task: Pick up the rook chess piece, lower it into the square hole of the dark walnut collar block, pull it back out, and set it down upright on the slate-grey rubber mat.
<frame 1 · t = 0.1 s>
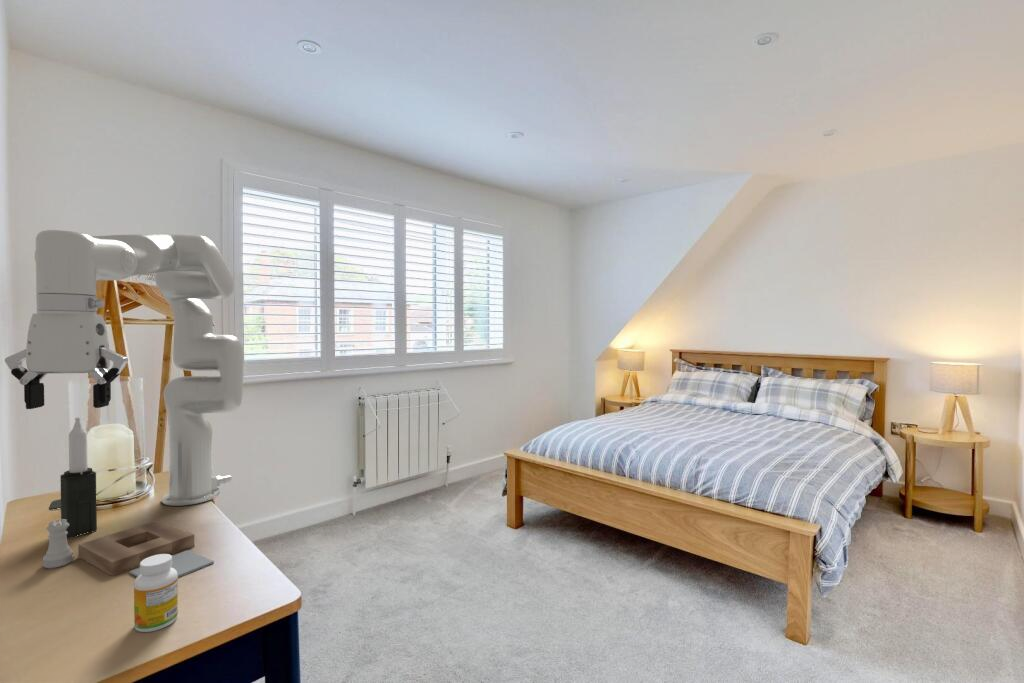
hand: (68, 407, 84), 31 cm above the table, tool pointing down, fingers open, 9 cm apart
phone: (90, 501, 127), on the table
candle: (79, 533, 107), on the table
rubber mat: (172, 568, 92), on the table
rook chess piece: (58, 564, 93), on the table
supplement bottle: (156, 623, 76), on the table
collar block: (138, 551, 99), on the table
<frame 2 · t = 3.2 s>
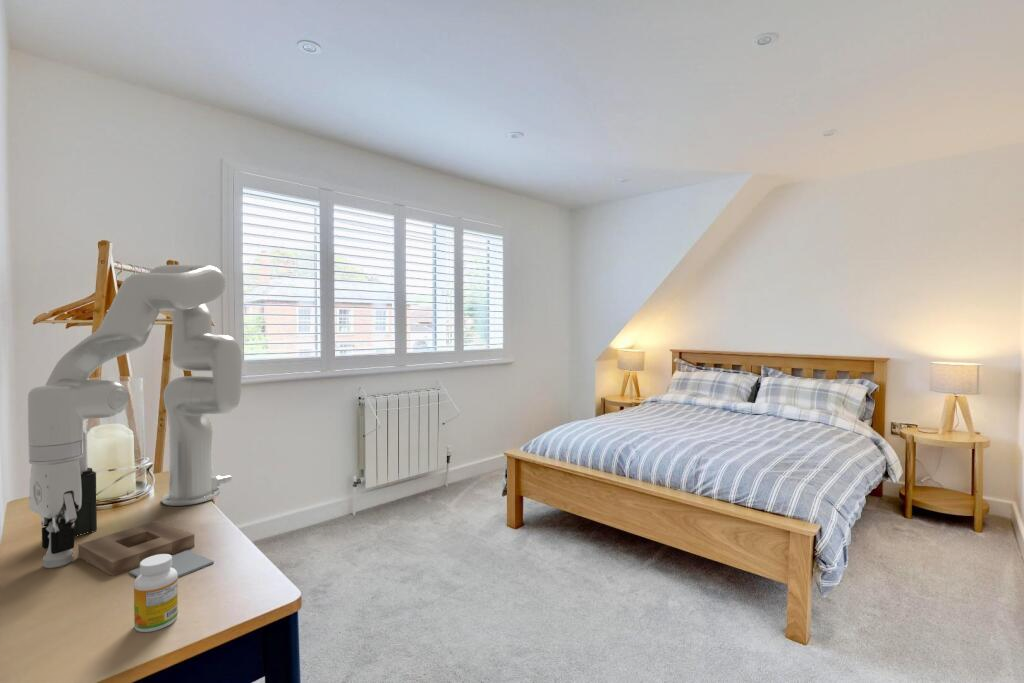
hand: (58, 547, 93), 3 cm above the table, tool pointing down, fingers closed on rook chess piece, 3 cm apart
rook chess piece: (58, 564, 93), on the table, touching gripper
everything else where it was.
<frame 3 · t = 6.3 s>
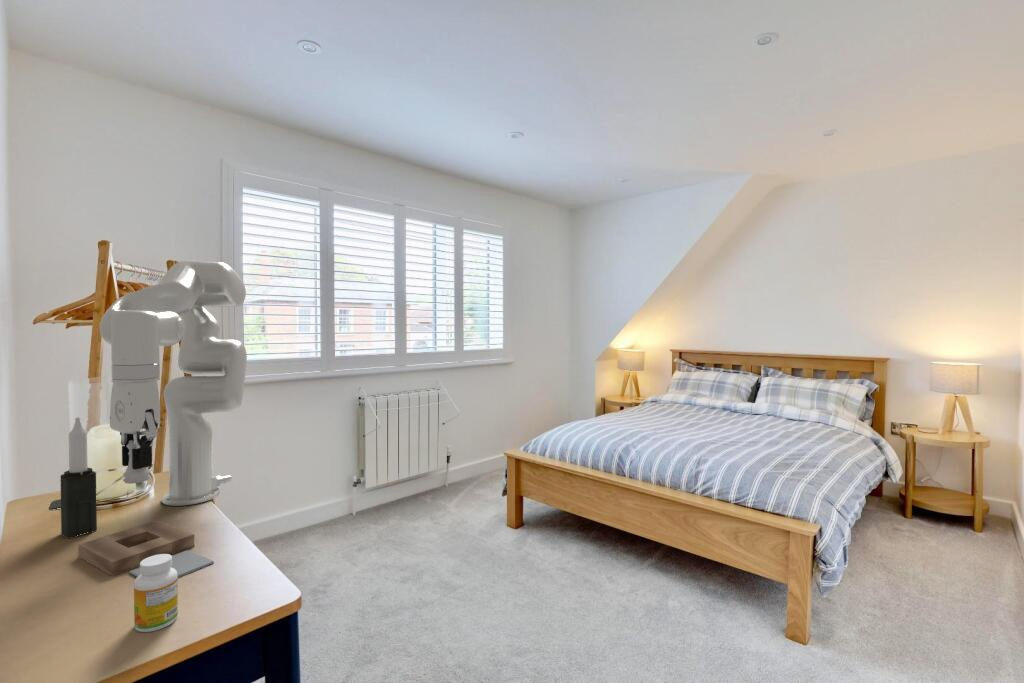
hand: (137, 465, 98), 17 cm above the table, tool pointing down, fingers closed on rook chess piece, 3 cm apart
rook chess piece: (137, 481, 98), point 14 cm above the table, touching gripper
everything else where it was.
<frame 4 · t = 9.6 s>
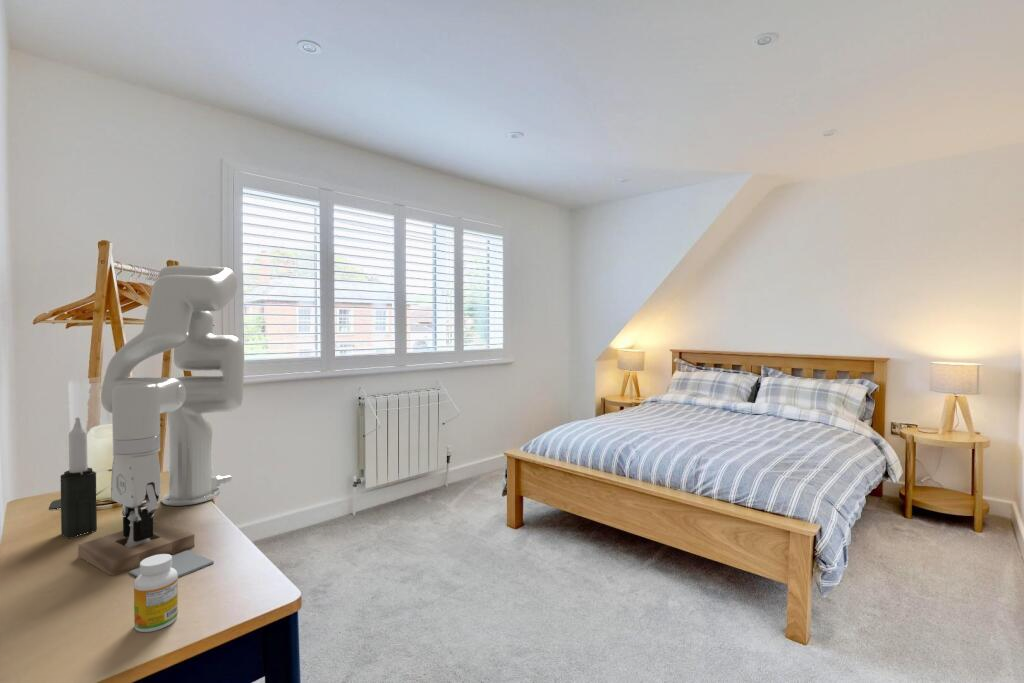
hand: (138, 535, 99), 3 cm above the table, tool pointing down, fingers closed on rook chess piece, 3 cm apart
rook chess piece: (138, 552, 99), resting in collar block, touching gripper
everything else where it was.
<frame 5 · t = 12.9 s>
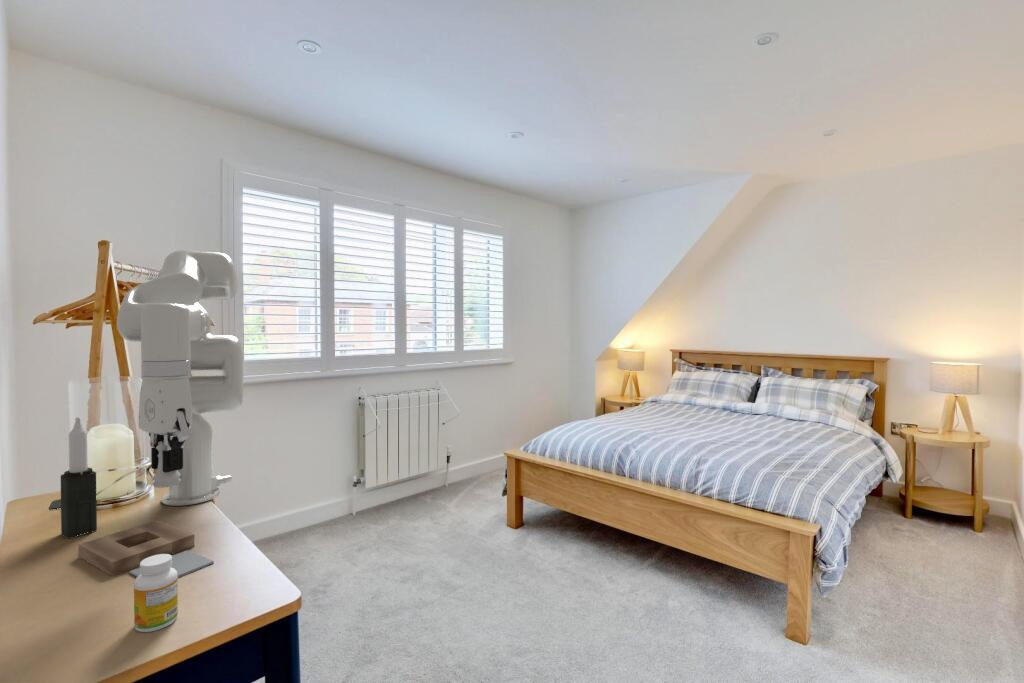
hand: (167, 468, 92), 19 cm above the table, tool pointing down, fingers closed on rook chess piece, 3 cm apart
rook chess piece: (166, 485, 92), point 15 cm above the table, touching gripper
everything else where it was.
when the fingers open (4 cm above the table, at t = 15.9 s): rook chess piece stays where it is, resting on rubber mat.
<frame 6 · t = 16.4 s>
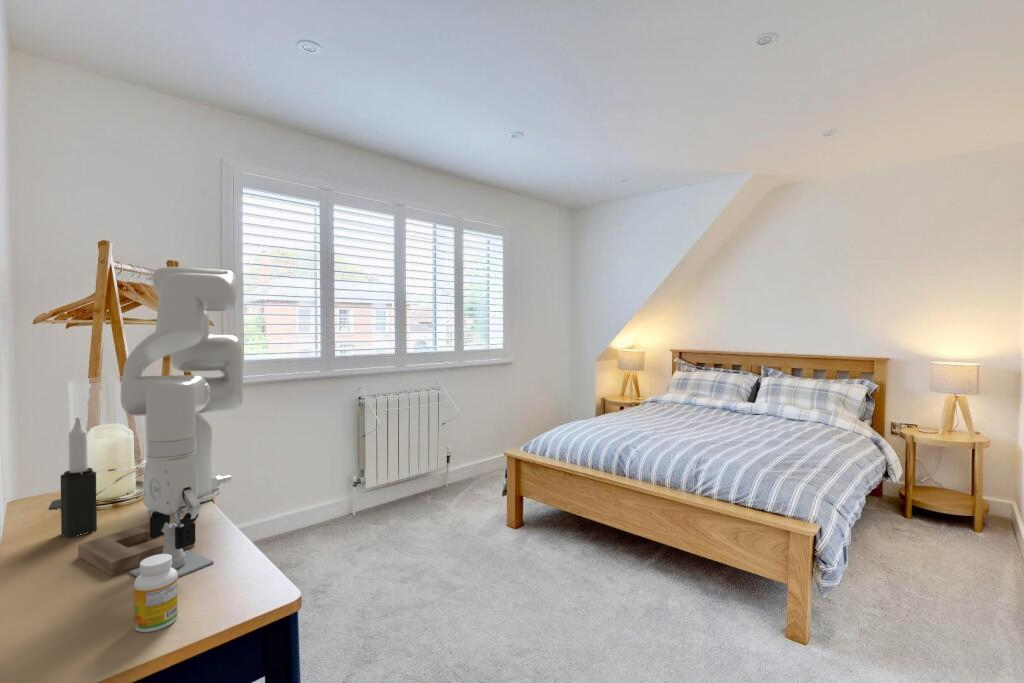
hand: (172, 540, 92), 5 cm above the table, tool pointing down, fingers open, 8 cm apart
rook chess piece: (172, 566, 92), resting on rubber mat
everything else where it was.
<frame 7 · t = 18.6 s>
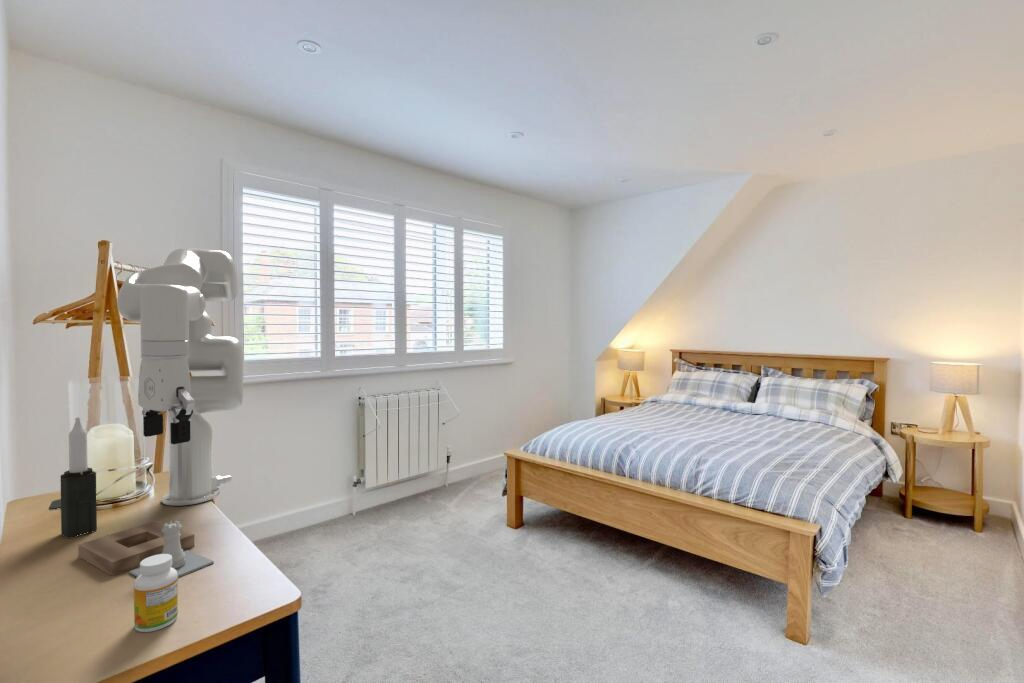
hand: (166, 438, 95), 23 cm above the table, tool pointing down, fingers open, 9 cm apart
nothing on the table moved.
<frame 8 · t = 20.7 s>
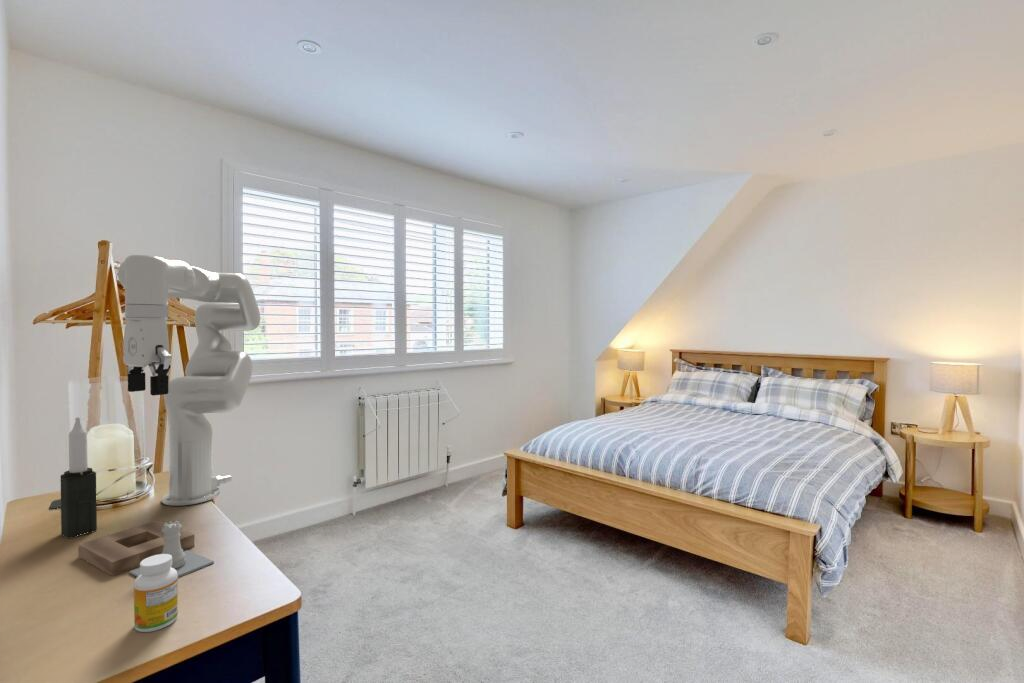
hand: (147, 392, 107), 30 cm above the table, tool pointing down, fingers open, 9 cm apart
nothing on the table moved.
at the end: rook chess piece inside the target area on the rubber mat (0.2 cm from its centre), point 0.2 cm above the rubber mat's base; rook chess piece tilted 0°; the gripper is holding nothing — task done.
